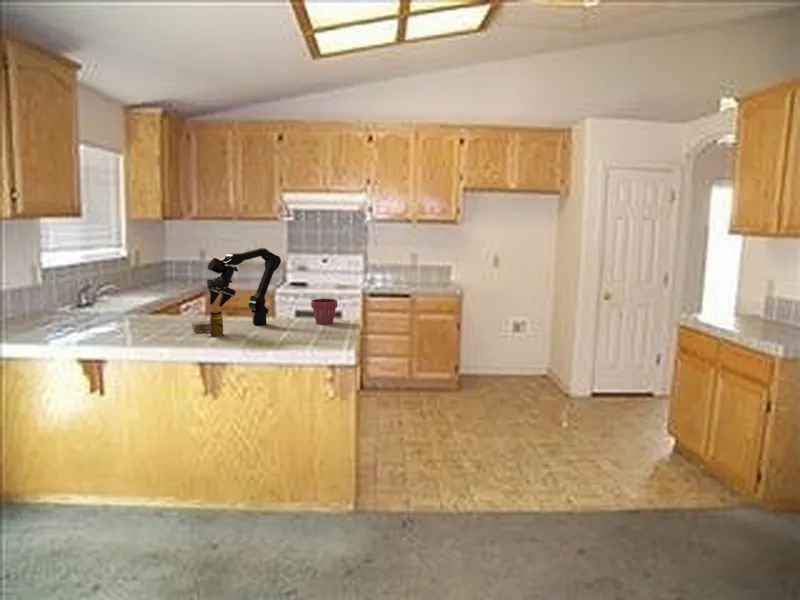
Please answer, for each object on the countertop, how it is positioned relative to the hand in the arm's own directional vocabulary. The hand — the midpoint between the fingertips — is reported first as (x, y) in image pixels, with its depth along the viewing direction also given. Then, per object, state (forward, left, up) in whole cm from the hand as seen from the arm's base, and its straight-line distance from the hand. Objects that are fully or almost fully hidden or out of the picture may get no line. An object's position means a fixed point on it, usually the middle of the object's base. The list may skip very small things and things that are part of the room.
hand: (215, 305), depth 332 cm
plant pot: (-58, +1, -13) cm, 59 cm away
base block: (+6, -4, -13) cm, 15 cm away
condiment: (+2, +11, -14) cm, 17 cm away
